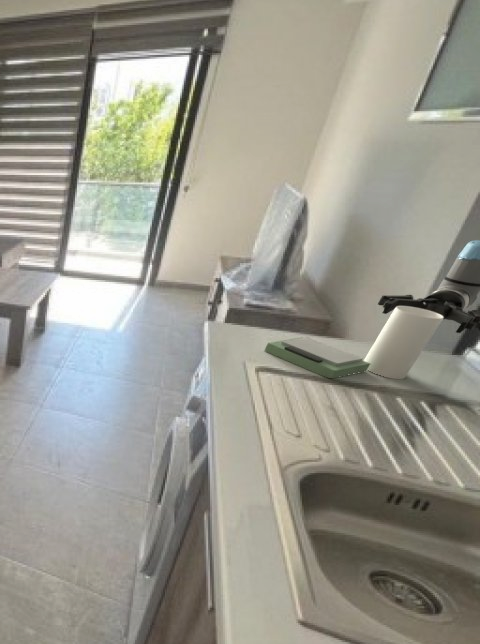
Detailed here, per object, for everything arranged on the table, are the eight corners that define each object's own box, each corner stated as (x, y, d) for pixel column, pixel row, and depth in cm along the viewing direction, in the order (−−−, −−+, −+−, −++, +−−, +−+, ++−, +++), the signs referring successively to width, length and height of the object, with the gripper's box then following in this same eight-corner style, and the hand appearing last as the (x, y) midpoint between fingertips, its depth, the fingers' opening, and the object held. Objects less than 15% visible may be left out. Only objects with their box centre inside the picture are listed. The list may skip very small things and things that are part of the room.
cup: (399, 369, 122) (437, 311, 114) (409, 382, 116) (449, 321, 108) (357, 360, 126) (391, 303, 118) (364, 372, 119) (401, 312, 112)
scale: (365, 371, 120) (372, 360, 118) (330, 379, 115) (336, 367, 114) (298, 345, 133) (303, 334, 131) (264, 350, 128) (269, 340, 127)
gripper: (502, 333, 123) (485, 350, 112) (377, 301, 141) (351, 314, 130) (523, 305, 119) (507, 321, 109) (391, 277, 137) (366, 288, 127)
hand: (422, 317), depth 119 cm, fingers open, 13 cm apart
